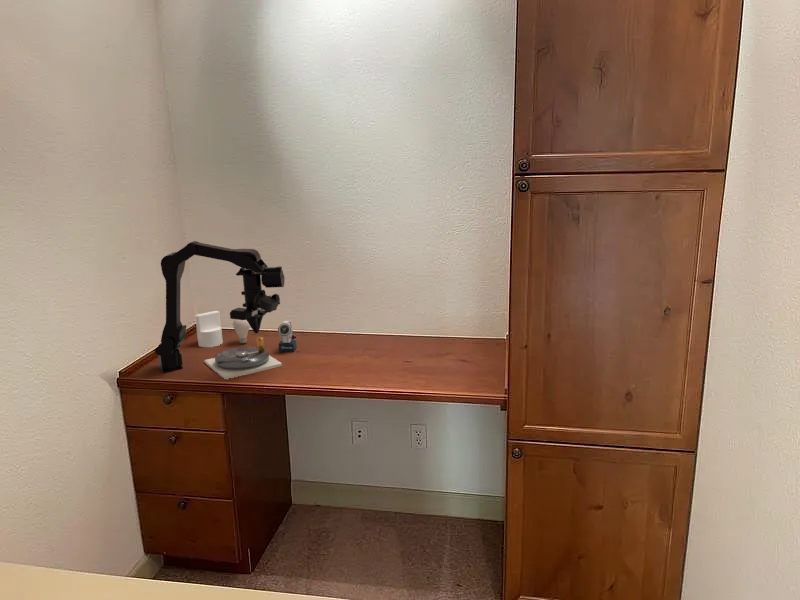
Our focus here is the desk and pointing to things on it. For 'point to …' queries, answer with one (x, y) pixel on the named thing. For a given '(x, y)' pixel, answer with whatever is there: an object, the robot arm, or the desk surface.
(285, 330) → the watch
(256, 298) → the robot arm
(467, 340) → the desk surface
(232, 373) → the wheel base
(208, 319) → the base with upright slab
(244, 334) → the light bulb
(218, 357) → the handwheel
